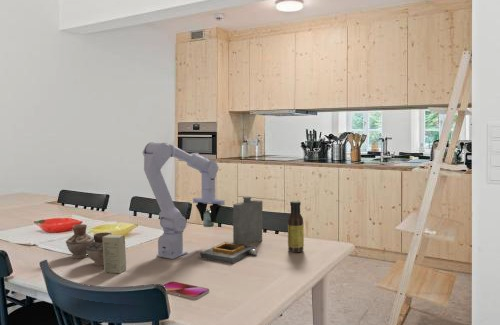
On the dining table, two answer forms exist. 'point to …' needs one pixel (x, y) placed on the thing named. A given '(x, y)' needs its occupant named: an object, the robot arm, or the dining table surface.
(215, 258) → the grey square hole board
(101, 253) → the pottery
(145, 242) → the dining table surface
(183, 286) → the smartphone
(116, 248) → the skincare box
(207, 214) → the spout can
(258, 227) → the hip flask
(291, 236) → the sauce bottle
